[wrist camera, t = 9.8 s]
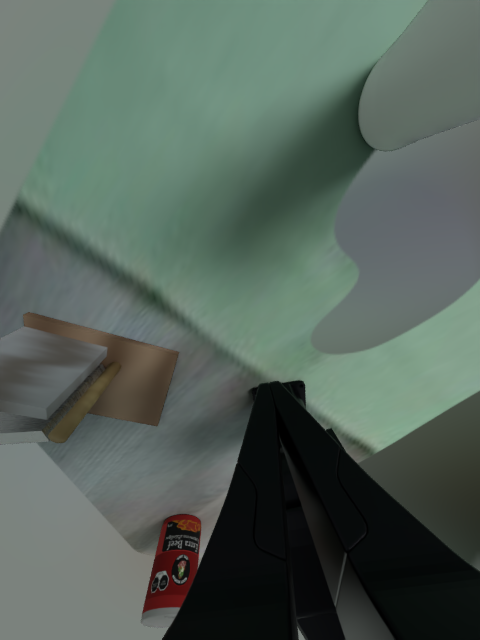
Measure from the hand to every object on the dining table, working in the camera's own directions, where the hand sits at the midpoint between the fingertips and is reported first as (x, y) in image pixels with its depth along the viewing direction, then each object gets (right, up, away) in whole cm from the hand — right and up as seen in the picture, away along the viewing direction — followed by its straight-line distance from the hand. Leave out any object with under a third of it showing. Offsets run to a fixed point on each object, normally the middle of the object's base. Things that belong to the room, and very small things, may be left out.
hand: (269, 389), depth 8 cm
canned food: (-13, -38, +31) cm, 51 cm away
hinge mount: (-17, -4, +14) cm, 22 cm away
